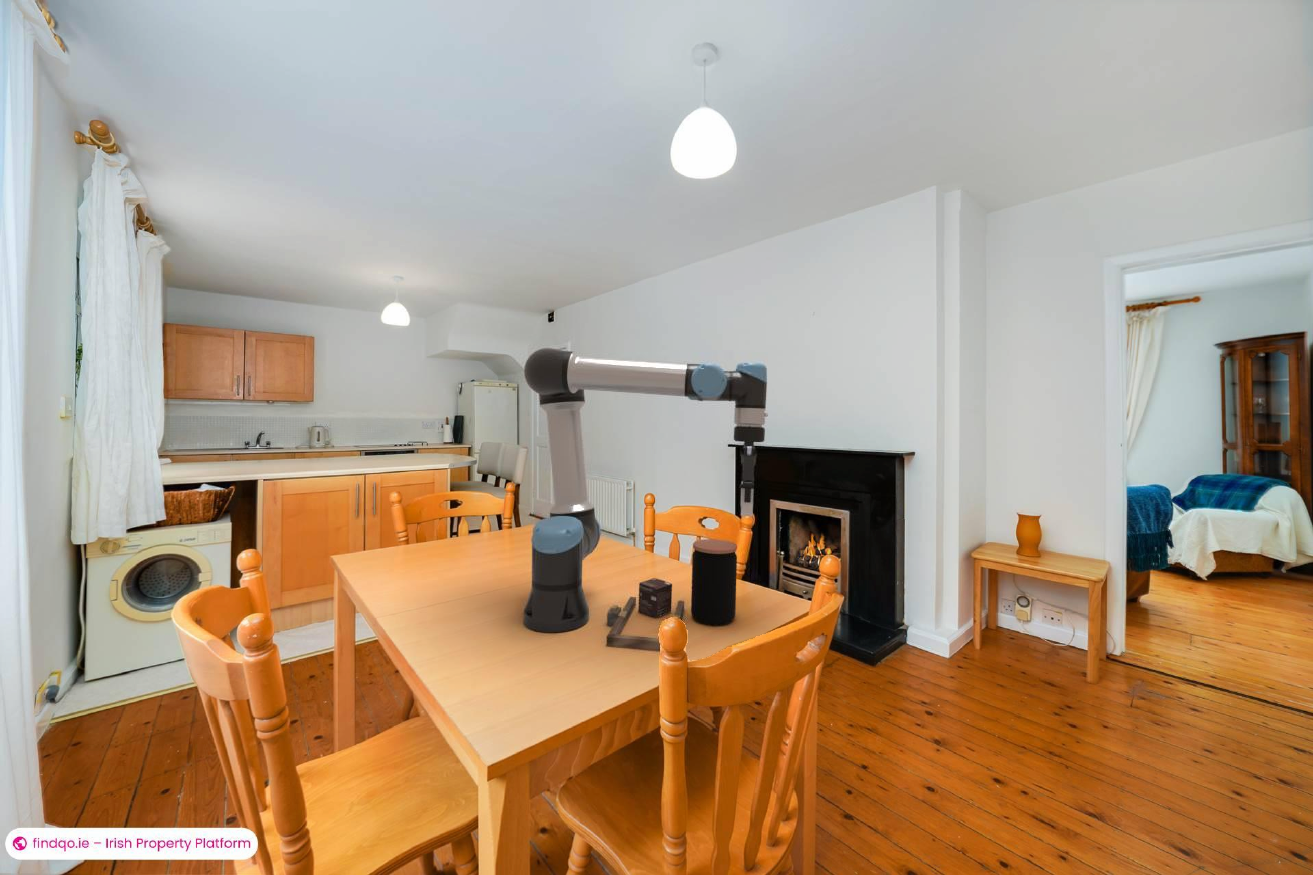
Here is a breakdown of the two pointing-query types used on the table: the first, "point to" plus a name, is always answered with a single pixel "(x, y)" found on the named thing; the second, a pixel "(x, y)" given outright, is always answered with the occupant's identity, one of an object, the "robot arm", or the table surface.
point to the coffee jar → (714, 581)
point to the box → (655, 597)
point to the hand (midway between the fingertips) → (746, 510)
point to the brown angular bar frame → (619, 620)
